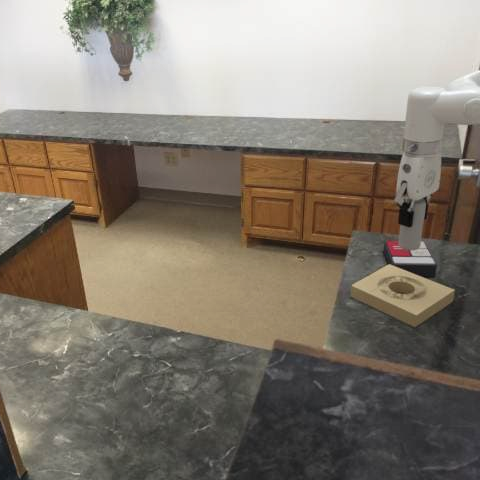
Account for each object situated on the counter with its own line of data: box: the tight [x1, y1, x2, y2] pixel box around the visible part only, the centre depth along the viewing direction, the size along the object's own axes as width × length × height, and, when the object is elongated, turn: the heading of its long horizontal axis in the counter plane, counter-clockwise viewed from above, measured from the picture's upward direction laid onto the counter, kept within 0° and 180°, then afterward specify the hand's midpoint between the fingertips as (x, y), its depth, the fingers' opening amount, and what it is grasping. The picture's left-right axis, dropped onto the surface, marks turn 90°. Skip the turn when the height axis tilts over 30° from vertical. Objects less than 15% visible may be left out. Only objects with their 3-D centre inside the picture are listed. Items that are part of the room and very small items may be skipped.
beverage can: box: [398, 198, 426, 251], centre depth 119 cm, size 5×5×12 cm
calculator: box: [383, 240, 438, 278], centre depth 144 cm, size 11×4×15 cm
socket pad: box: [349, 264, 456, 328], centre depth 129 cm, size 18×16×4 cm
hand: (412, 220), depth 119 cm, fingers closed on beverage can, 4 cm apart
